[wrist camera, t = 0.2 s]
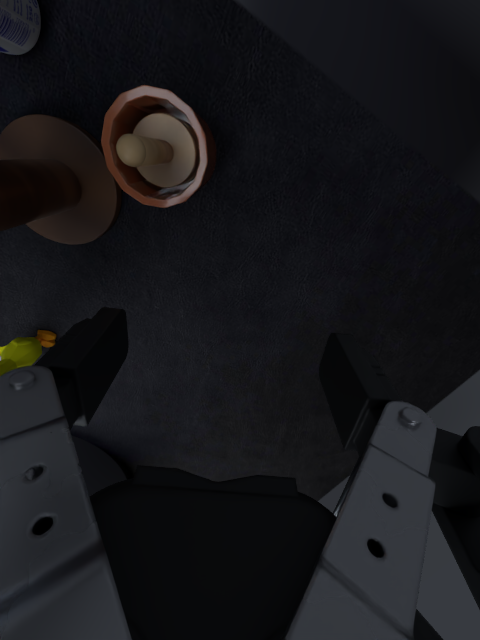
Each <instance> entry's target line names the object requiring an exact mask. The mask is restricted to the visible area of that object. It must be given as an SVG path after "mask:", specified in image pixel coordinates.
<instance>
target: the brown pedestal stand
mask: <svg viewBox="0 0 480 640" xmlns="http://www.w3.org/2000/svg"><path fill="white" fill-rule="evenodd" d="M121 200H122V195H121V187H120V186H119V184H118V183H117V181H116V180H115V178H114V177H113V175H112V174H111V173H110V171H109V170H108V168H107V164H106V160H105V156H104V152H103V148H102V146H101V144H100V143H99V142H98V141H97V140H96V139H95V138H94V137H93V136H92V135H91V134H89V133H88V132H87V131H86V130H84V129H83V128H81V127H80V126H78V125H76V124H74V123H72V122H70V121H68V120H65V119H62V118H59V117H54V116H49V115H43V114H33V115H26V116H23V117H20V118H18V119H16V120H14V121H12V122H11V123H10V124H9V125H8V126H6V128H5V129H4V130H3V131H2V133H1V135H0V231H3V230H7V229H10V228H13V227H16V226H20V225H23V224H26V225H27V226H28V227H30V228H31V229H32V230H34V231H35V232H37V233H38V234H40V235H42V236H44V237H46V238H48V239H50V240H53V241H56V242H59V243H64V244H84V243H88V242H91V241H93V240H95V239H97V238H99V237H101V236H102V235H104V234H105V233H106V232H108V231H109V230H110V229H111V227H112V226H113V225H114V223H115V222H116V220H117V218H118V215H119V212H120V208H121Z"/></svg>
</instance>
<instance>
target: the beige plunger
mask: <svg viewBox="0 0 480 640" xmlns="http://www.w3.org/2000/svg"><path fill="white" fill-rule="evenodd" d="M116 151H117V154H118V156H119V158H120V159H121V161H122V162H123V163H124V164H126V165H128V166H131V167H137V169H138V171H139V172H140V173H141V175H142V176H143V177H144V178H145V179H146V180H148V181H149V182H151V183H152V184H154V185H156V186H159V187H164V188H170V187H175V186H178V185H183V184H186V183H188V182H190V181H192V180H194V178H195V175H196V172H197V169H198V165H199V162H200V156H199V147H198V137H197V136H196V134H195V132H194V130H193V128H192V126H191V125H190V124H188V123H187V122H185V121H183V120H181V119H179V118H176V117H173V116H171V115H168V114H165V113H153V114H150V115H148V116H146V117H144V118H143V119H142V120H140V121H139V123H138V124H137V125H136V127H135V129H134V131H133V134H124V135H122V136H121V137H120V138H119V139H118V141H117V144H116Z"/></svg>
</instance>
